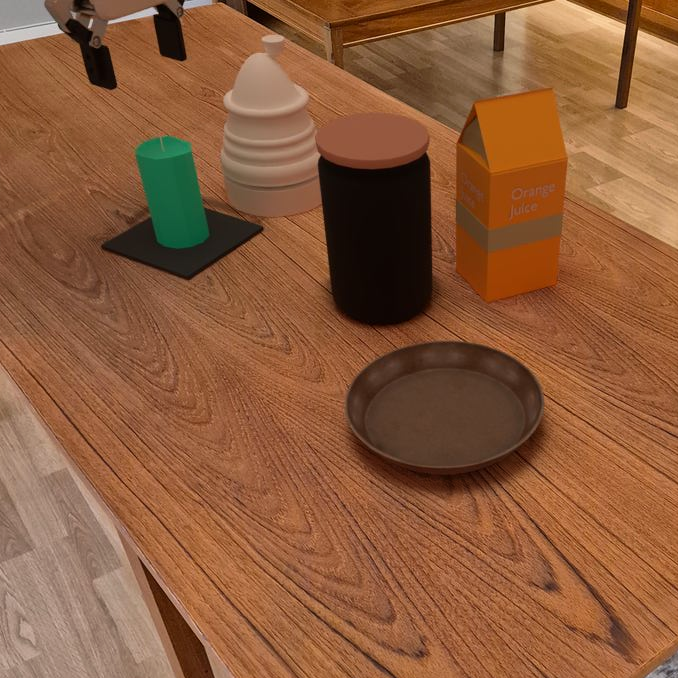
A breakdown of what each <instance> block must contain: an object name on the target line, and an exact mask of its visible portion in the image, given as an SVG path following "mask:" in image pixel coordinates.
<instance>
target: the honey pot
mask: <svg viewBox="0 0 678 678" xmlns="http://www.w3.org/2000/svg"><path fill="white" fill-rule="evenodd" d="M261 43H262V47H263V49H264V50H265V52H255V53H252V54H251V55H250V56H248V57H247V58H246V59H245V61H244V62H243V63H242V64H241V67H240V69H239V70H238V73H237V75H236V78H235V81H234V85H233V87H232V89H230V90H229V91H227V92H226V94H224V96H223V99H222V105H223V107H224V109H225V110H226V111H227V115H226V116H227V117H226V122H225V123H224V125H223V136H222V147H221V149H220V152H219V153H220V155H219V156H220V157H219V163H220V164H221V170H222V178H223V184H224V189H225V195H226V199H227V201H228V203H229V204H230V206H231V207H233V208H234V209H235V210H237V211H239V212H241V213H244V214H247V215H252V216H256V217H264V218H266V217H267V218H278V217H279V218H280V217H290V216H294V215H300V214H303V213H306V212H309V211H312V210H314V209H316V208H317V207H319V206H322V200H321V191H320V182H319V173H318V160H319V158H320V156H321V154H320V153H318V150H317V146H316V141H315V135H316V133H317V131H318V129H316V126H315V120H314V119H313V118H312V116H311V115H310V113H309V111H308V109H307V106H308V104H309V103H310V95H309V93H308V91H307V90H306V88H303V87H302V86H300V85H298V84H295V83H293V81H292V80H291V78H290V77H289V75H288V74H287V72H286V71H285V69H283V67H282V66H281V65H280V64H279V63H278V61H276V60H275V58H278V57H280V56H281V55H282V53H283V52H284V49H285V45H286V39H285V36H284V35H280V34H268V35H264V36H263V37H261Z"/></svg>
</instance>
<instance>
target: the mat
mask: <svg viewBox="0 0 678 678" xmlns="http://www.w3.org/2000/svg"><path fill="white" fill-rule="evenodd" d="M204 211H205V215H206V220H207V225H208V230H209V237H208V238H207V239H206V240H205V241H204V242H203V243H200V244H198V245H195V246H193V247H187V248H179V249H176V248H170V247H165V246H163V245H162V244H160V243H159V242H157V238H156V234H155V230H154V226H153V222H152V218H151V216H149V217H147V218H145V219H144V220H141V221H140V222H139V223H137V224H135V225H133V226H131V227H130V228H128V229H126V230H124V231H123V232H121V233H119V234H118V235H116V236H114V237H112V238H111V239H108V240H107V241H105V242H103V243H102V244H101V245H100V247H101V250H103V251H106V252H109V253H112V254H115V255H118V256H120V257H123V258H126V259H129V260H131V261H134V262H137V263H140V264H142V265H145V266H148V267H151V268H154V269H156V270H159V271H161V272H164V273H168V274H171V275H172V276H175V277H179V278H181V279H184V280H187V281H190V280H192V278H194V277H195V276H198V274H200V273H201V272H203V271H205V270H206V269H208V268H209V267H210V266H212V265H214V264H215V263H217V262H218V261H220V260H221V259H223V258H224V257H226V256H227V255H228V254H230V253H232V252H233V251H234V250H236V249H238V248H239V247H241V246H242V245H243V244H246V243H247V242H248V241H250V240H252V239H253V238H255V237H256V236H258V235H259V234H261V233H263V231H265V226H263V225H261V224H257V223H254V222H252V221H248V220H246V219H242V218H239V217H236V216H232V215H229V214H227V213H223V212H220V211H217V210H214V209H210V208H208V207H205V206H204Z"/></svg>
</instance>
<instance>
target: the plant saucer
mask: <svg viewBox="0 0 678 678" xmlns="http://www.w3.org/2000/svg"><path fill="white" fill-rule="evenodd" d="M544 395H545V394H544V390H543V387H542V385H541V383H540V381H539V379H538V377H536V375H535V374H534V373H533V371H531V369H530V368H529V367H528V366H526V365H525V364H524V363H523V362H521V360H519V359H517V358H515V357H514V356H512V355H510V354H508V353H507V352H504V351H502V350H500V349H497V348H494V347H491V346H488V345H485V344H481V343H477V342H471V341H470V342H469V341H462V340H432V341H431V340H430V341H423V342H417V343H413V344H408V345H405V346H401V347H398V348H396V349H392V350H391V351H388V352H387V353H383V354H382V355H380V356H378V357H376V358H375V359H373V360H372V361H371V362H369V363H368V364H366V366H364V367H363V368H362V369H361V370H359V372H358V373H357V375H355V376H354V378H353V379H352V381H351V383H350V385H349V387H348V388H347V391H346V394H345V398H344V414H345V417H346V421H347V423H348V425H349V427H350V429H351V430H352V432H353V433H354V434H355V436H356V437H357V438H358V439H359V441H361V442H362V443H363V444H364V445H365V446H366V447H367V448H368V449H369V450H371V452H373V453H375V455H377V456H379V457H380V458H382V459H384V460H385V461H387V462H388V463H391V464H393V465H395V466H397V467H400V468H404V469H406V470H410V471H413V472H416V473H421V474H428V475H443V476H444V475H448V476H449V475H459V474H465V473H471V472H475V471H479V470H482V469H484V468H486V467H489V466H491V465H494V464H495V463H498V462H500V461H502V460H503V459H505V458H507V457H509V456H510V455H512V454H513V453H514V452H515V451H516V450H518V449H519V448H520V447H521V446H523V445H524V444H525V443H526V441H527V440H529V439H530V438H531V436H532V435H533V433H535V431H536V429H537V428H538V426H539V425H540V422H541V421H542V418H543V416H544V410H545V396H544Z"/></svg>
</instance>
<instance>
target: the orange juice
mask: <svg viewBox="0 0 678 678" xmlns="http://www.w3.org/2000/svg"><path fill="white" fill-rule="evenodd" d="M559 117H560V116H559V113H558V107H557V103H556V98H555V94H554V90H553V87H547V88H542V89H541V88H540V89H536V90H530V91H525V92H524V91H523V92H519V93H513V94H508V95H501V96H497V97H491V98H485V99H484V98H483V99H480V100H474V102H473V104H472V106H471V108H470V111H469V113H468V116H467V117H466V120H465V123H464V125H463V128H462V130H461V132H460V133H459V137H458V138H457V141H456V145H455V149H456V150H455V152H456V156H455V159H456V160H455V162H456V163H455V169H456V170H455V192H456V193H455V194H456V195H455V271H457V273H458V274H459V275H460V276H461V277H462V278H463V279H464V280H465V281H466V283H467V284H469V286H470V287H471V288H472V289H473V290H474V291H475V293H477V295H478V296H480V298H481V299H482V300H483V302H485V303H486V304H488V303H493V302H496V301H500V300H503V299H508V298H511V297H515V296H518V295H523V294H526V293H529V292H534V291H537V290H540V289H546V288H548V287H552V286H556V285H557V280H558V268H559V258H560V247H561V237H562V233H563V222H564V221H563V220H564V205H565V204H564V203H565V193H566V184H567V183H566V182H567V174H568V173H567V172H568V161H569V156H567V154H568V153H567V150H566V144H565V140H564V135H563V131H562V127H561V121H560V118H559Z"/></svg>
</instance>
